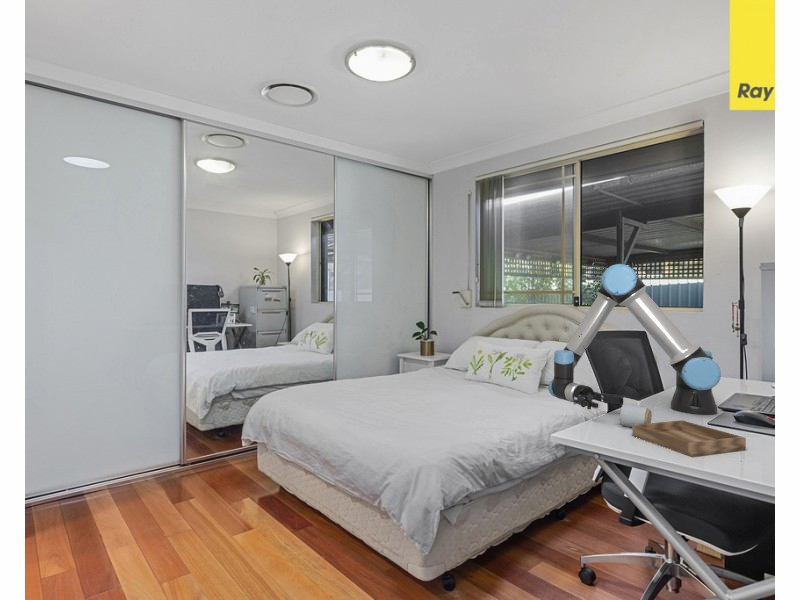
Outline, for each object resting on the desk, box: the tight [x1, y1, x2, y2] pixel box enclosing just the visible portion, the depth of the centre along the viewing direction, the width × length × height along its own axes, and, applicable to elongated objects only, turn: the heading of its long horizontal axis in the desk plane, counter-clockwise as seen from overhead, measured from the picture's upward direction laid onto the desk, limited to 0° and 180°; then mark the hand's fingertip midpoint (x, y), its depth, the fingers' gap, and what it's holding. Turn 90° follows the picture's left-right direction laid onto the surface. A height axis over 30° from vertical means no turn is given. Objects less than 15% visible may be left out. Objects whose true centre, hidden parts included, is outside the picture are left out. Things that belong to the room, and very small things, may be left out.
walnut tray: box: [632, 420, 747, 458], centre depth 136 cm, size 20×20×4 cm
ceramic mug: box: [619, 403, 653, 429], centre depth 154 cm, size 11×8×8 cm
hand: (622, 406), depth 157 cm, fingers open, 13 cm apart
